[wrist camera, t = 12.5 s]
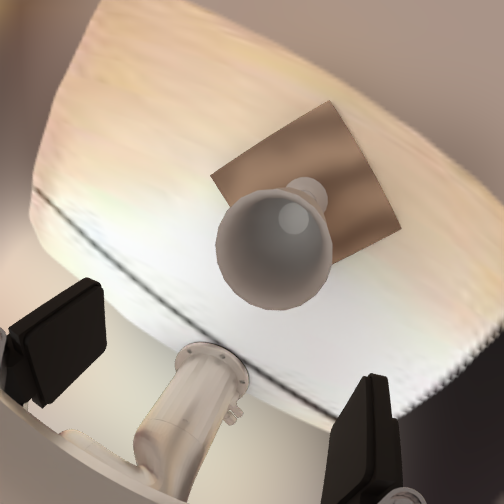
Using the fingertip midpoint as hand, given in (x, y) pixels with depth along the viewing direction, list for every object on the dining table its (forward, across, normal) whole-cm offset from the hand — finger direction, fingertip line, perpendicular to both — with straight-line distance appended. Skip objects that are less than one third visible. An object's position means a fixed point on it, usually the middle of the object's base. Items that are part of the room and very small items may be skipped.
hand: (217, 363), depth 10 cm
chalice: (+27, 0, -1) cm, 27 cm away
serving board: (+29, 0, -1) cm, 29 cm away
